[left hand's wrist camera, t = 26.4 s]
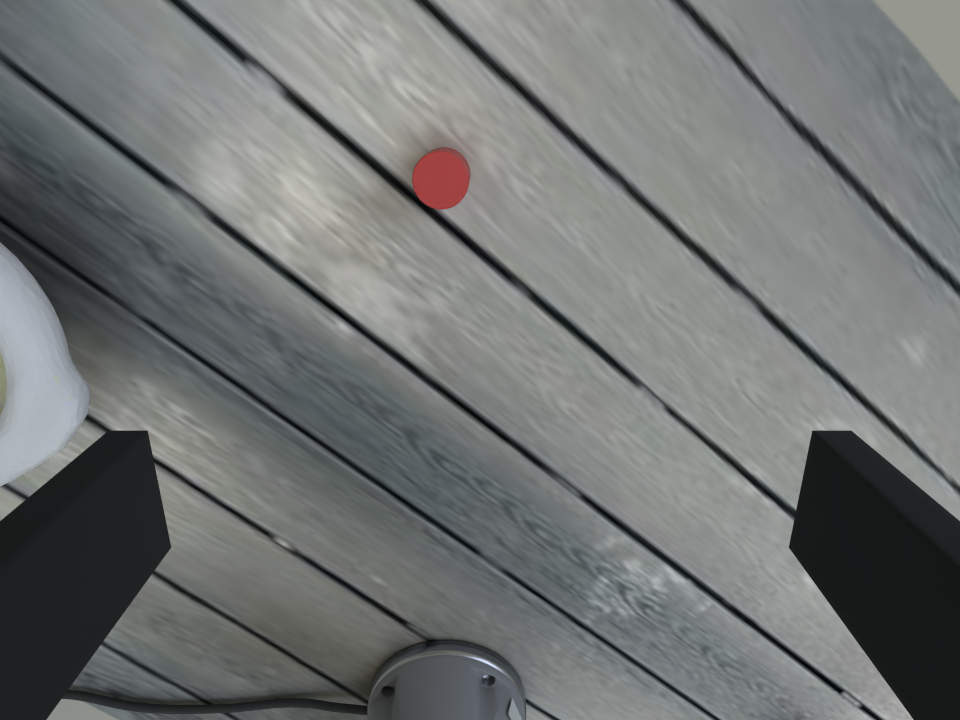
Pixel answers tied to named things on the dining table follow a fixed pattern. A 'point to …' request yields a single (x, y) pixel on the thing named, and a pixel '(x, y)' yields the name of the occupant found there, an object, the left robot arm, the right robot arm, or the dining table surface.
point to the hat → (33, 375)
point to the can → (441, 178)
